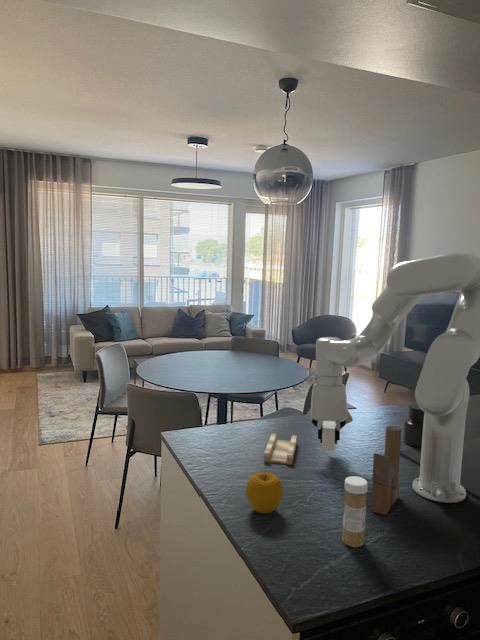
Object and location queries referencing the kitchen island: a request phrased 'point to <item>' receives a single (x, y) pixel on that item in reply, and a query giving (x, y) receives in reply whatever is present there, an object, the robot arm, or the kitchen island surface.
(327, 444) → the strip
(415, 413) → the ink bottle
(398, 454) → the stepped wooden upright
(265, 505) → the apple
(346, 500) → the sprinkles bottle
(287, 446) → the rack
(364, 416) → the kitchen island surface
